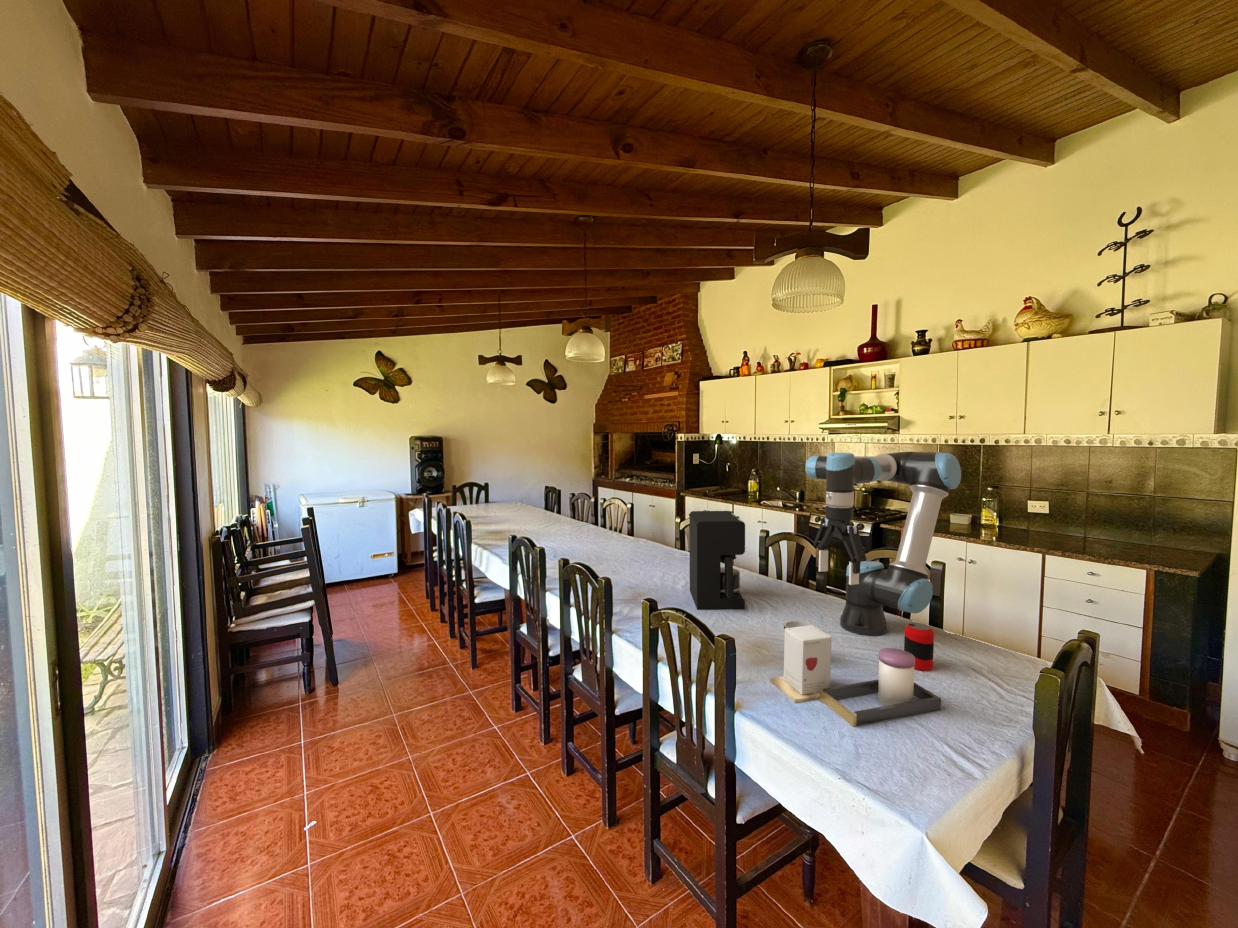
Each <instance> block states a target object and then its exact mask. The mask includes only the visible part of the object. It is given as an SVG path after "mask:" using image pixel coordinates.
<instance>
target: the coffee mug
mask: <svg viewBox="0 0 1238 928" xmlns="http://www.w3.org/2000/svg"><path fill="white" fill-rule="evenodd" d="M809 625H812V624H811V623H810V622H806V621H802V620H789V621H786V622H784V624H783V629H784V631H785V628H793V627H799V626H809Z"/></svg>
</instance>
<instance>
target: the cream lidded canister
mask: <svg viewBox="0 0 1238 928" xmlns="http://www.w3.org/2000/svg"><path fill="white" fill-rule="evenodd" d="M914 665H915V657H914V655H912V654H911V653H909V652H907V651H904V649H900V648H893V647H887V648H886V647H885V648H881V649H879V650H878V680H879V684H878V693H877V697H878V698H877V701H878V702H879V703H880V704H881V705H883V706H888V705H894V704H899V703H905V702H910V701H914V696H913V691H914V683H915V669H914Z"/></svg>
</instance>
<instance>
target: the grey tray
mask: <svg viewBox="0 0 1238 928" xmlns="http://www.w3.org/2000/svg"><path fill="white" fill-rule="evenodd" d="M878 684H879V679H873V680H867V681H862V682H855V683H849V684H842V685H838V686H830V688H824V689H823V691H820V699H819V701H820V702H822V703H823V704H824V705H825V706H826V707H828V709H831V710H832V712H834V713H835V714H836V715H837V716H839V717H840V718H841V719H843V720H844V721H845V722H846V723H847V724H849V725H850V726H852V727H858V726H864V725H869V724H874V723H879V722H880V723H881V722H885V721H889V720H895V719H901V718H905V717H910V716H916V715H921V714H927V713H932V712H937V711H941V710H942V697H940V696H938V695H937V694H934V693H933V692H932V691H929V690H928V689H926V688H925V687H923V686H921V685H920V684H918V683H916V682H914V691H913V697H915V698H917V700H913V701H910V702H905V703H899V704H894V705H888V706H884V705H883V706H879V707H873V708H867V709H863V710H856V711H853V712H852V711H851V710H849V709H848V708H847V707H845V706H844V705H843V704H841V703H840V702H839V701H838V700H842V699H847V698H853V697H855V698H856V697H860V696H866V695H871V694H878Z"/></svg>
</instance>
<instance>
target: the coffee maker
mask: <svg viewBox="0 0 1238 928" xmlns="http://www.w3.org/2000/svg"><path fill="white" fill-rule="evenodd" d="M688 517H689V592H690V595H691V597H692V600H693V602H694V607H695V608H696V610H697V611H712V610H714V611H715V610H716V611H718V610H720V611H721V610H724V611H725V610H726V611H728V610H737V611H738V610H739V611H740V610H742V611H743V610H745V607H746V601H745V598H744V597H743V596H742V593H741V592H740V589H741V571H740V569H737V568H734V564H733V563H734V562H733V560H736V559H737V556H742V555H744V554H745V552H746V523H745V522H744V521H743V520H742V519H741V518H740V516H736V514H735V513H734V511H732V510H692V511H690V512H689V514H688ZM721 561H724V566H722V567H721ZM737 563H738V564H739V562H737Z"/></svg>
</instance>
